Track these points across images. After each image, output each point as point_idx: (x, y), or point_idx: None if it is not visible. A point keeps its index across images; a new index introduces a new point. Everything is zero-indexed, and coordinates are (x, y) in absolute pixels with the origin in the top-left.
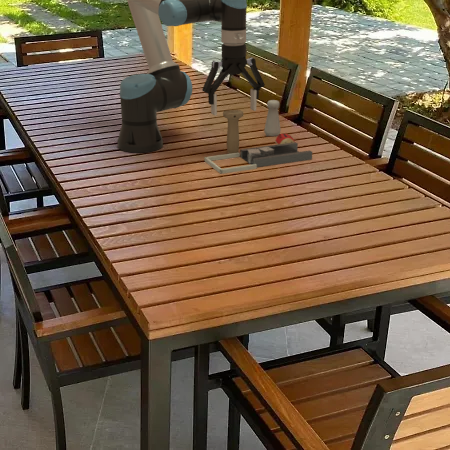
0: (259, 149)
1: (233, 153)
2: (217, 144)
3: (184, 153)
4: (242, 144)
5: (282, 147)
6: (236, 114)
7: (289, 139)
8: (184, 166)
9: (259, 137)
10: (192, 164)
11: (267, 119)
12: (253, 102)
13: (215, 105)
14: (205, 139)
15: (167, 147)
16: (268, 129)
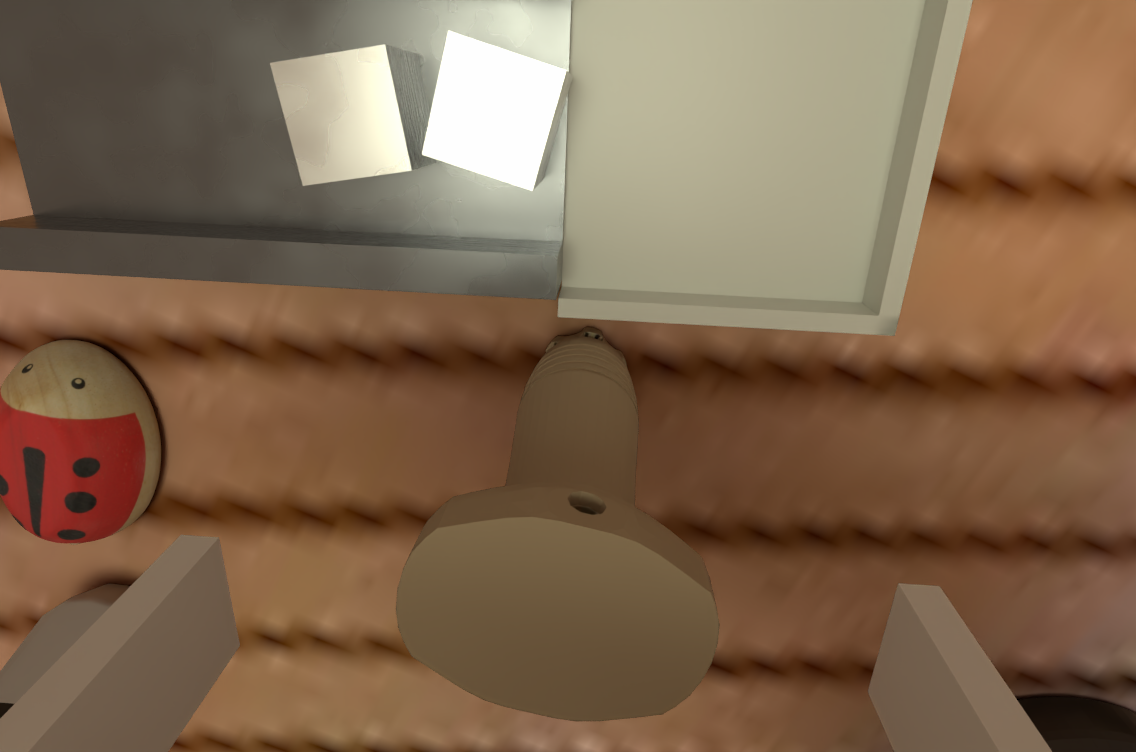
0: (409, 155)
1: (613, 315)
2: None
3: (860, 582)
4: (389, 573)
5: (146, 229)
6: (560, 514)
7: (24, 393)
8: (1044, 334)
9: None
10: (960, 349)
11: None
12: (137, 660)
13: (1017, 731)
14: (578, 746)
15: None
16: None
